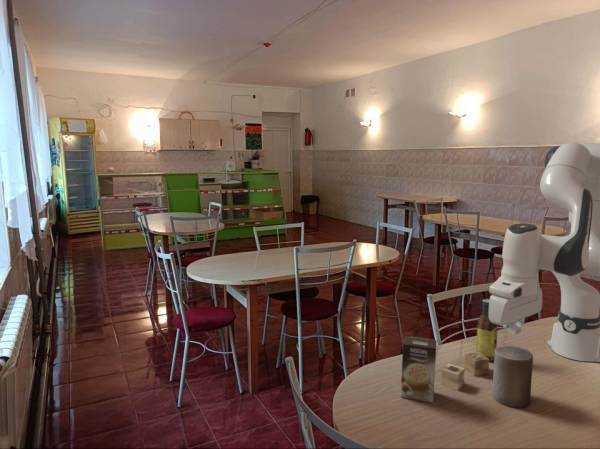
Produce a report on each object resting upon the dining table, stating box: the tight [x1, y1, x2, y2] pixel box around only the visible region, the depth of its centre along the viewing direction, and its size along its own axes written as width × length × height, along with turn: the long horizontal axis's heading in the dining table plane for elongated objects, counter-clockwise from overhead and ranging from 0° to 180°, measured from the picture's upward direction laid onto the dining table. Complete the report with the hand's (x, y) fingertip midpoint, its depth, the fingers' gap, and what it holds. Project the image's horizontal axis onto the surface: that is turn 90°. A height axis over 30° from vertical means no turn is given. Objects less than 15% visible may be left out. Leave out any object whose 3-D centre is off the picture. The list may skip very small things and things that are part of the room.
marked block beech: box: [440, 363, 466, 391], centre depth 130 cm, size 5×5×5 cm
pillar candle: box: [492, 345, 534, 409], centre depth 121 cm, size 10×10×15 cm
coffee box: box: [399, 334, 437, 403], centre depth 124 cm, size 9×6×16 cm
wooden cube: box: [464, 352, 490, 377], centre depth 138 cm, size 5×5×5 cm
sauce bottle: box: [475, 298, 499, 362], centre depth 146 cm, size 6×6×20 cm
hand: (515, 333), depth 120 cm, fingers closed
